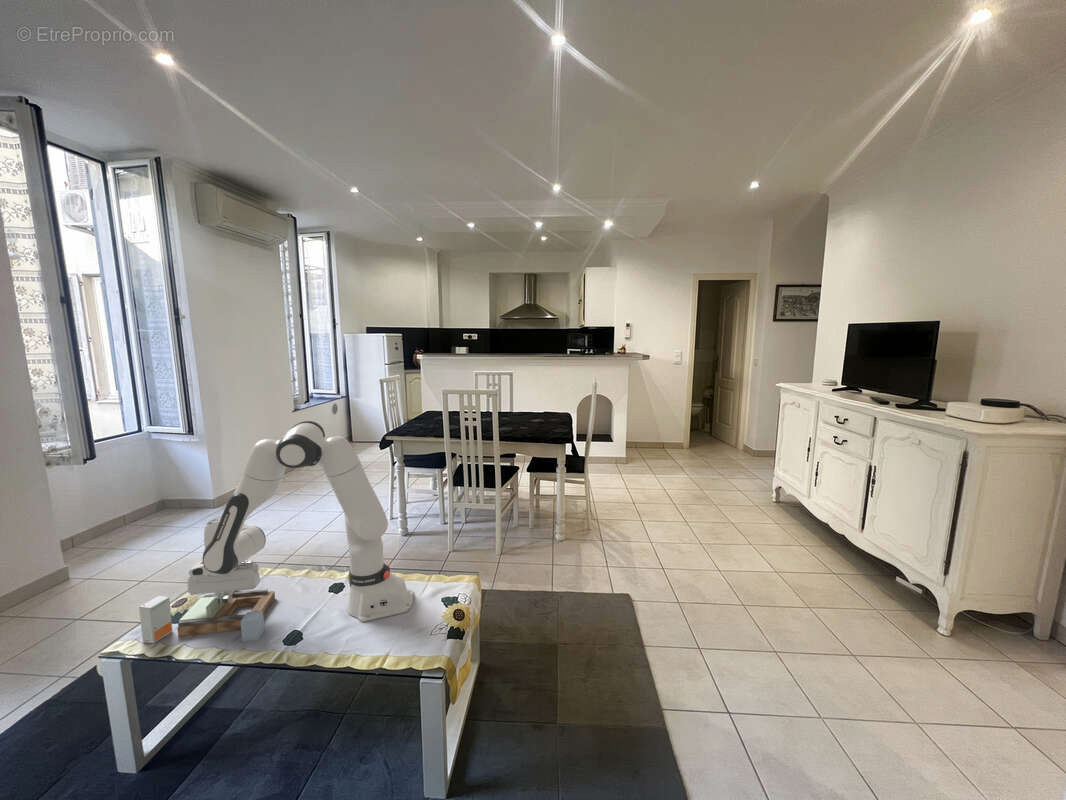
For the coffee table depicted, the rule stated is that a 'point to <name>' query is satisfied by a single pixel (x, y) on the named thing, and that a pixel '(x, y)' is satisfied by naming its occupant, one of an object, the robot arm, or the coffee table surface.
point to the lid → (204, 608)
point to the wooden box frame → (228, 613)
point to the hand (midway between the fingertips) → (226, 602)
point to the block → (252, 626)
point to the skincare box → (155, 619)
